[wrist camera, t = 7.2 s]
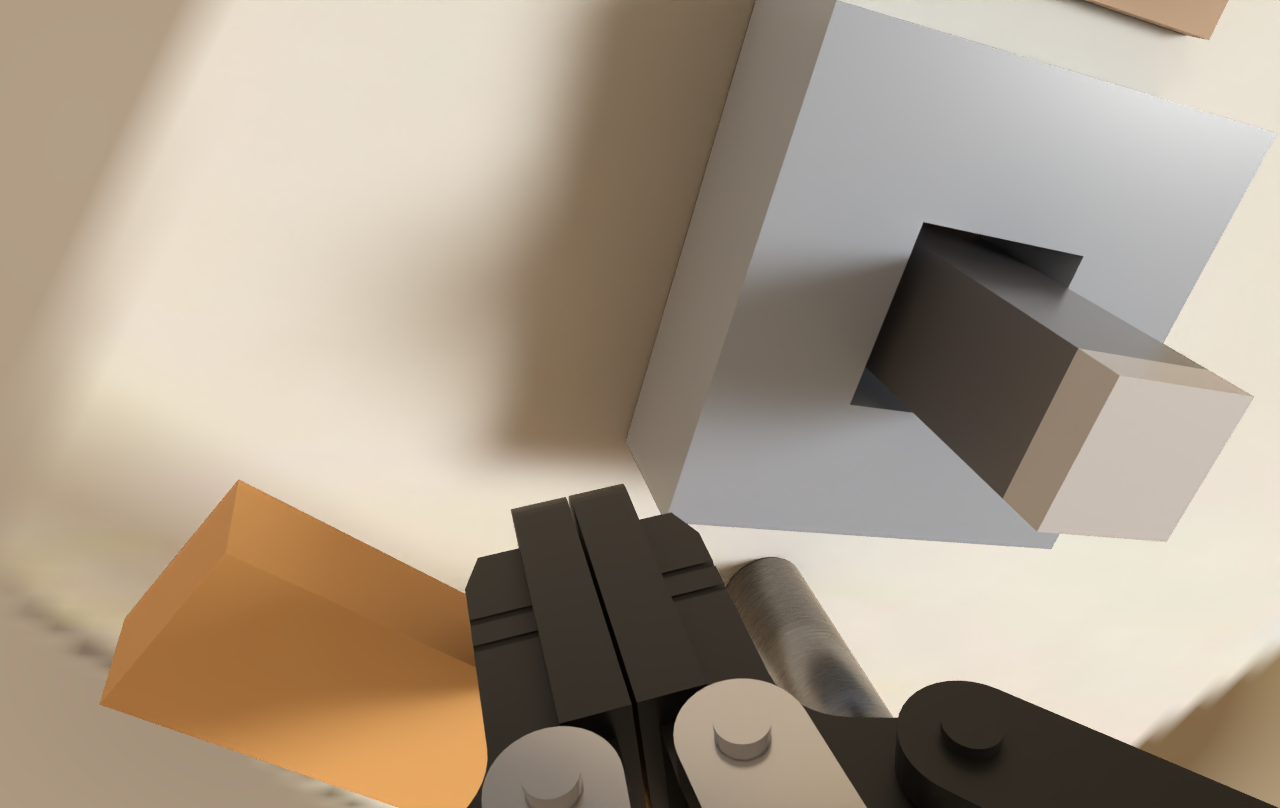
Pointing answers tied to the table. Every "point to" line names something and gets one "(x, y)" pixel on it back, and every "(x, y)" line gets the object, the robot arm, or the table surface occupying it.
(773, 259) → the socket block
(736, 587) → the post
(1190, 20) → the pad
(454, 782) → the orange flat bar
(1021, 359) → the plug
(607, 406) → the table surface
